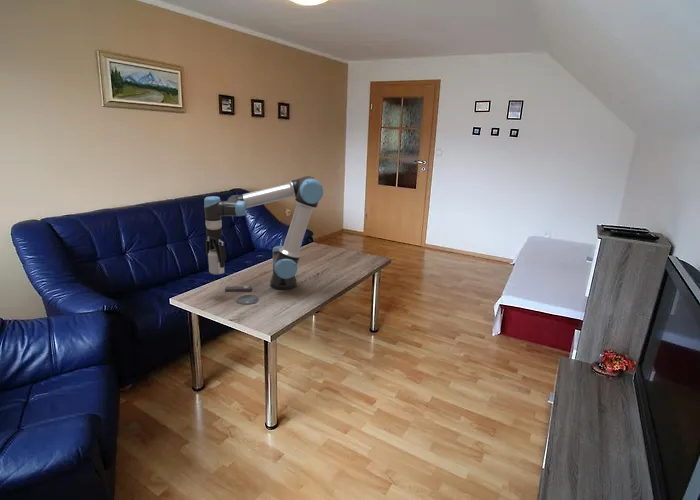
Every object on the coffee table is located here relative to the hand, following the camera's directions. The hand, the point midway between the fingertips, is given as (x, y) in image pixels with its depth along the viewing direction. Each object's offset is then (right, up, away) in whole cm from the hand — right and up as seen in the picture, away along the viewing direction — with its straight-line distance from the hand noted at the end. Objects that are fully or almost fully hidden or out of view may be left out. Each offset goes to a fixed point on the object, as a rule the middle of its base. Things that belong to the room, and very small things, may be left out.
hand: (216, 271), depth 205 cm
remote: (+7, -12, +15) cm, 20 cm away
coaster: (+15, -15, +3) cm, 22 cm away
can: (0, -1, 0) cm, 1 cm away
